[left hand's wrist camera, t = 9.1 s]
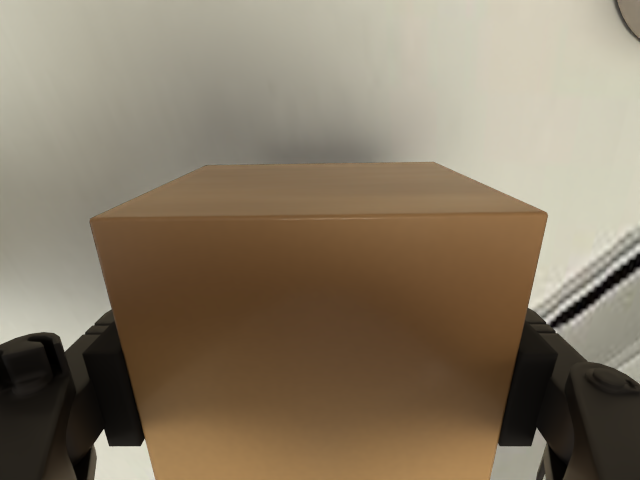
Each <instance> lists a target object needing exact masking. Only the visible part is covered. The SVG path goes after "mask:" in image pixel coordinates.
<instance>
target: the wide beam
mask: <svg viewBox="0 0 640 480" xmlns="http://www.w3.org/2000/svg"><path fill="white" fill-rule="evenodd" d="M547 218H548V214H547V212H545V211H542V210H540V209H538V208H536V207H533V206H531V205H529V204H527V203H524V202H522V201H520V200H518V199H516V198H513V197H511V196H509V195H507V194H504V193H502V192H500V191H498V190H495V189H493V188H491V187H489V186H486V185H484V184H482V183H480V182H477V181H475V180H473V179H471V178H469V177H466V176H464V175H462V174H460V173H457V172H455V171H453V170H451V169H448V168H446V167H444V166H442V165H439V164H437V163H435V162H392V163H323V164H255V165H206V166H203V167H201V168H199V169H197V170H195V171H193V172H190V173H188V174H186V175H184V176H182V177H180V178H177V179H175V180H173V181H171V182H169V183H167V184H164V185H162V186H160V187H158V188H156V189H153V190H151V191H149V192H147V193H145V194H143V195H140V196H138V197H136V198H134V199H132V200H130V201H127V202H125V203H123V204H121V205H119V206H117V207H114V208H112V209H110V210H108V211H106V212H104V213H101V214H99V215H97V216H95V217H93V218H91V219H90V226H91V230H92V234H93V238H94V241H95V245H96V249H97V253H98V257H99V261H100V265H101V269H102V273H103V277H104V280H105V284H106V288H107V292H108V296H109V300H110V304H111V308H112V312H113V316H114V319H115V323H116V327H117V331H118V335H119V339H120V343H121V347H122V351H123V355H124V358H125V362H126V366H127V370H128V374H129V378H130V382H131V386H132V390H133V394H134V397H135V401H136V405H137V409H138V413H139V417H140V421H141V425H142V429H143V433H144V436H145V440H146V444H147V448H148V452H149V456H150V460H151V464H152V468H153V472H154V475H155V479H156V480H490V476H491V472H492V467H493V463H494V458H495V453H496V449H497V444H498V440H499V435H500V431H501V426H502V422H503V417H504V413H505V408H506V404H507V399H508V394H509V390H510V385H511V381H512V376H513V372H514V367H515V363H516V358H517V354H518V349H519V345H520V340H521V336H522V331H523V326H524V322H525V317H526V313H527V308H528V304H529V299H530V295H531V290H532V286H533V281H534V277H535V272H536V268H537V263H538V258H539V254H540V249H541V245H542V240H543V236H544V231H545V227H546V222H547Z"/></svg>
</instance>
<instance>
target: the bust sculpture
mask: <svg viewBox="0 0 640 480" xmlns="http://www.w3.org/2000/svg"><path fill="white" fill-rule="evenodd" d="M617 1H618V5H619V8H620V11H621V13H622V16H623V18H624V20H625V22H626V23H627V25H628V26H629V28H630V29H631V30H632V32H633V33H634V34H635V35H636V36H637V37H638V38H639V39H640V0H617Z"/></svg>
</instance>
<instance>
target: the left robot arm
mask: <svg viewBox="0 0 640 480" xmlns="http://www.w3.org/2000/svg"><path fill="white" fill-rule="evenodd" d="M536 428H538V430H539V431H540V433H541V434H542V436H543V437H544V439H545V440H546V442H547V444H546V447H545V450H544V453H543V457H542V460H541V463H540V466H539V469H538V472H537V478H536V480H543V477H544V474H545V475H546V480H640V384H639V383H637V382H636V381H635V380H633V379H632V378H630V377H629V376H628V375H626V374H624V373H622V372H620V371H618V370H616V369H614V368H611V367H608V366H605V365H602V364H599V363H592V362H588V361H586V360H585V359H584V358H583V357H582V356H581V355H580V354H579V353H578V352H577V351H576V350H575V349H574V348H573V347H572V346H571V345H570V344H568V343H567V342H566V341H565V340H564V339H563V338H562V337H561V336H560V335H559V334H556V333H555V330H554V329H553V328H552V327H550V326H549V325H548V324H546V322H545V321H544V320H543V319H542V318H541V317H540V316H539V315H538V314H537V313H536V312H534V311H533V310H531V309H529V308H527V313H526V317H525V322H524V326H523V331H522V336H521V340H520V345H519V349H518V354H517V358H516V363H515V367H514V372H513V376H512V381H511V385H510V390H509V394H508V399H507V404H506V408H505V413H504V417H503V422H502V426H501V431H500V435H499V440H498V444H499V446H531V445H532V442H533V438H534V435H535V431H536ZM103 429H104V430H105V433H106V437H107V440H108V444H109V446H141V444H142V443H143V441H144V439H145V436H144V433H143V429H142V425H141V421H140V417H139V413H138V409H137V405H136V401H135V397H134V394H133V390H132V386H131V382H130V378H129V374H128V370H127V366H126V362H125V358H124V355H123V351H122V347H121V343H120V339H119V335H118V331H117V327H116V323H115V319H114V316H113V312H112V310H110V311H108V312H107V313H105V314H104V315H103V316H102V317H101V318H100V319H99V320H98V321H97V322H96V323H95V325H94V326H92V327H91V328H89V329H88V330H87V331H86V332H85V335H82V336H81V337H80V338H79V339H78V340H77V341H76V342H75V343H74V344H73V345H72V346H71V347H69V348H68V349H67V350H66V351H65V352H64V349H63V346H62V343H61V339H60V337H59V336H58V335H56V334H54V333H47V332H41V333H34V334H28V335H25V336H21V337H18V338H15V339H12V340H10V341H8V342H6V343H3V344H1V345H0V480H94V476H95V468H96V460H97V456H96V450H95V447H94V443H95V441H96V440H97V438H98V437H99V435H100V434H101V432H102V431H103Z"/></svg>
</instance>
